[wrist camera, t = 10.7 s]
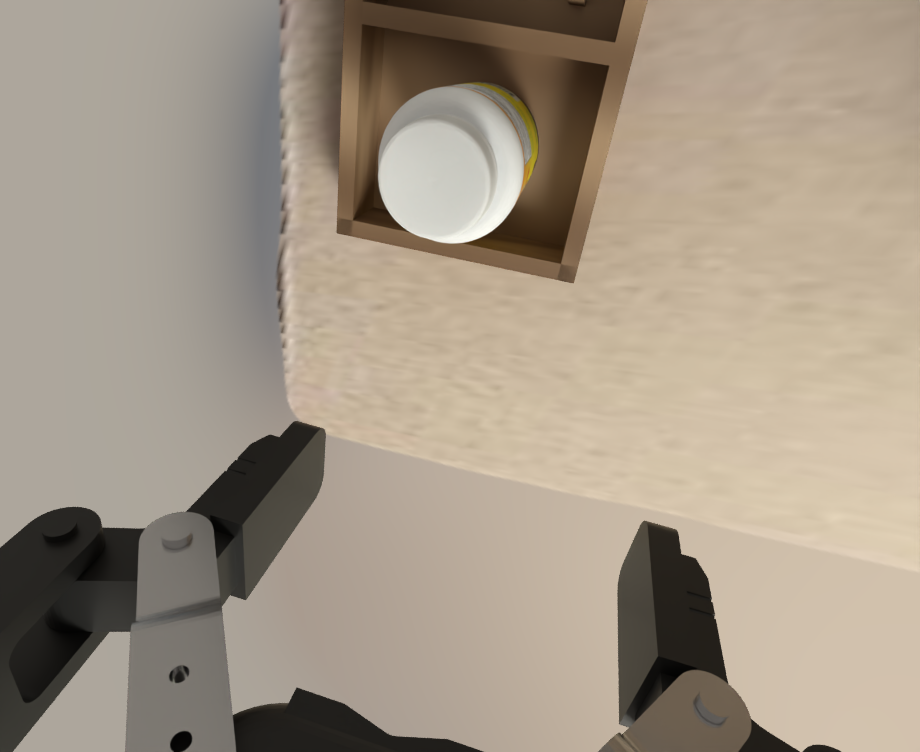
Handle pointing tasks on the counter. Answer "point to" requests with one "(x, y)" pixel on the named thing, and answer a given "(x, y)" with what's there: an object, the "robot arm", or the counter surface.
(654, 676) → the robot arm
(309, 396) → the counter surface
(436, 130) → the supplement bottle
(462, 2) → the rack
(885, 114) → the counter surface
